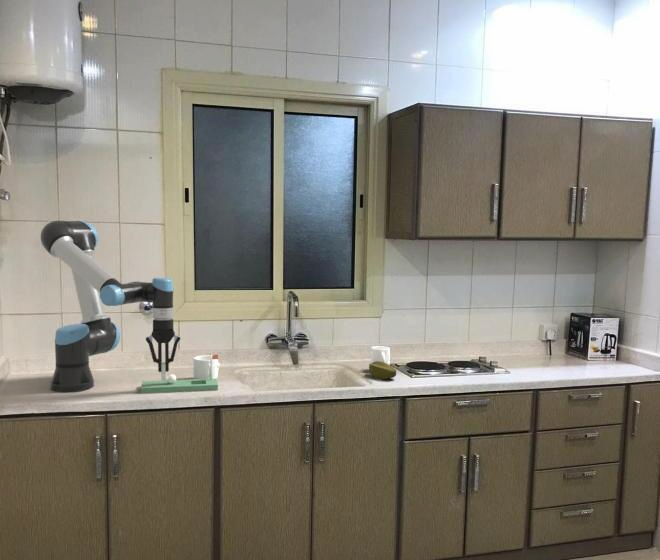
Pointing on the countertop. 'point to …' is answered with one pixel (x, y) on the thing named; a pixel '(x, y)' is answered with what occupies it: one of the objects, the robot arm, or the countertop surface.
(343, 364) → the countertop surface
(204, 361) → the mug
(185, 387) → the green
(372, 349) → the mug
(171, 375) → the ball
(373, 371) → the fruit
